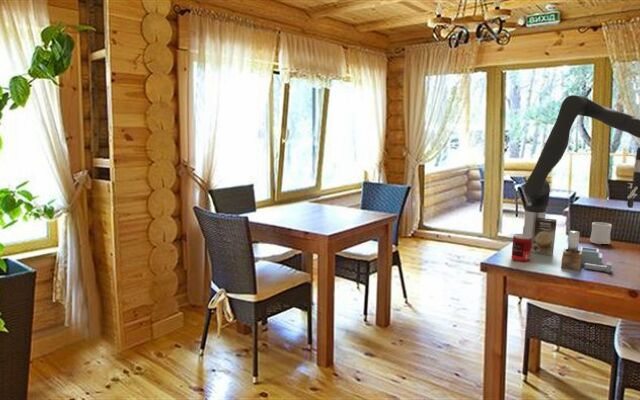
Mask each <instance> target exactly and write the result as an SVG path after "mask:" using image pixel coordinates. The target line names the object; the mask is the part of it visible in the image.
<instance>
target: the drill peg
mask: <svg viewBox="0 0 640 400" xmlns="http://www.w3.org/2000/svg"><path fill="white" fill-rule="evenodd" d="M567 243H568V244H567V249H568V252H571V253H578V250H579V244H580V231H577V230H570V231H569V233H568V242H567Z"/></svg>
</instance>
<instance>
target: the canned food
mask: <svg viewBox="0 0 640 400" xmlns="http://www.w3.org/2000/svg"><path fill="white" fill-rule="evenodd" d="M531 244H532V236H530V235H527V234H523V233H514V234H513V235H512V248H511V260H513V261H515V262H517V263H518V262H519V263H528V262H530V260H531V255H532V254H531V253H532V247H531Z"/></svg>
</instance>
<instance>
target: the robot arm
mask: <svg viewBox="0 0 640 400" xmlns="http://www.w3.org/2000/svg"><path fill="white" fill-rule="evenodd" d="M578 116H581V117H582V116H583V117H587V118H591V119H594V120H596V121H598V122H601V123H603V124H605V125H606V126H608V127H610V128H614V129H616V130H618V131H621V132H624V133H627V134H630V135H632V136H634V137H636V138H638V139H640V119H639V118H637V117H635V116H634V115H631V114H629V113H628V114H627V113H625V112H623V111H622V112H621V111H619V110H616V109H612V108H610V107H607V106H605V105H602V104H599V103H596V102H595V101H593V100H591V99H589V98H587V97H586V96H584V95H582V94H570V95H568V96H566V97H564V99H563V100H562V103H561V105H560V109H559V111H558V114H557V118H556V120H555V123H554V125H553V127H552V129H551V130H550V133H549V135H548V136H547V139H546V141H545V143H544V145H543V148H542V150H541V153H540V154H539V157H538V160H537V162H536V164H535V166H534V167H533V169H532V171H531V173H530V175H529V176H528V179H527V181H525V183H524V188H523V192H524V194H525V196H526V197H528V198H529V201H528V203H526V205H525V211H524V221H523V222H524V224H523V226H522V234H527V235H530V236H532V244H531V248H532V246H533V238H534V228H535V220H536V217H537V218H546V214H547V213H546V211H547V207H548V205H549V201H550V195H551V186H550V183H549V181H548V180H547V178H548V176H549V174H550V173H551V171H553V169H554V168H555V167H556V166H557V165H558V164H559V162H560V161H561V160H562V158H563V156H564V155H565V153H566V150H567V147H568V145H569V141H570V133H571V129H572V126H573V124H574V122H575V121H576V119H577V117H578ZM632 173H633V174H632V182H633V183H632V182H626V183H625V184H624V185H625V186H624V190H623V197H625V198H627V203H626V204H627V208H629V209H632V208H634V200H635V197H636V196H640V145H639V146H638V147H637V149H636V154H635V161H634V166H633V172H632Z"/></svg>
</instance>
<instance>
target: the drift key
mask: <svg viewBox="0 0 640 400" xmlns="http://www.w3.org/2000/svg"><path fill="white" fill-rule="evenodd" d="M606 262H607V263H606V265H603V264H601V265H596V264H589V263H585V265H584V269H585V270H591V271H593V270H594V271H598V272H599V271H600V272H605V273H608V274H609V273H610V274H611V273H612V266H613V265H612V264H613V262H611V261H610V262H609V261H606Z"/></svg>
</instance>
